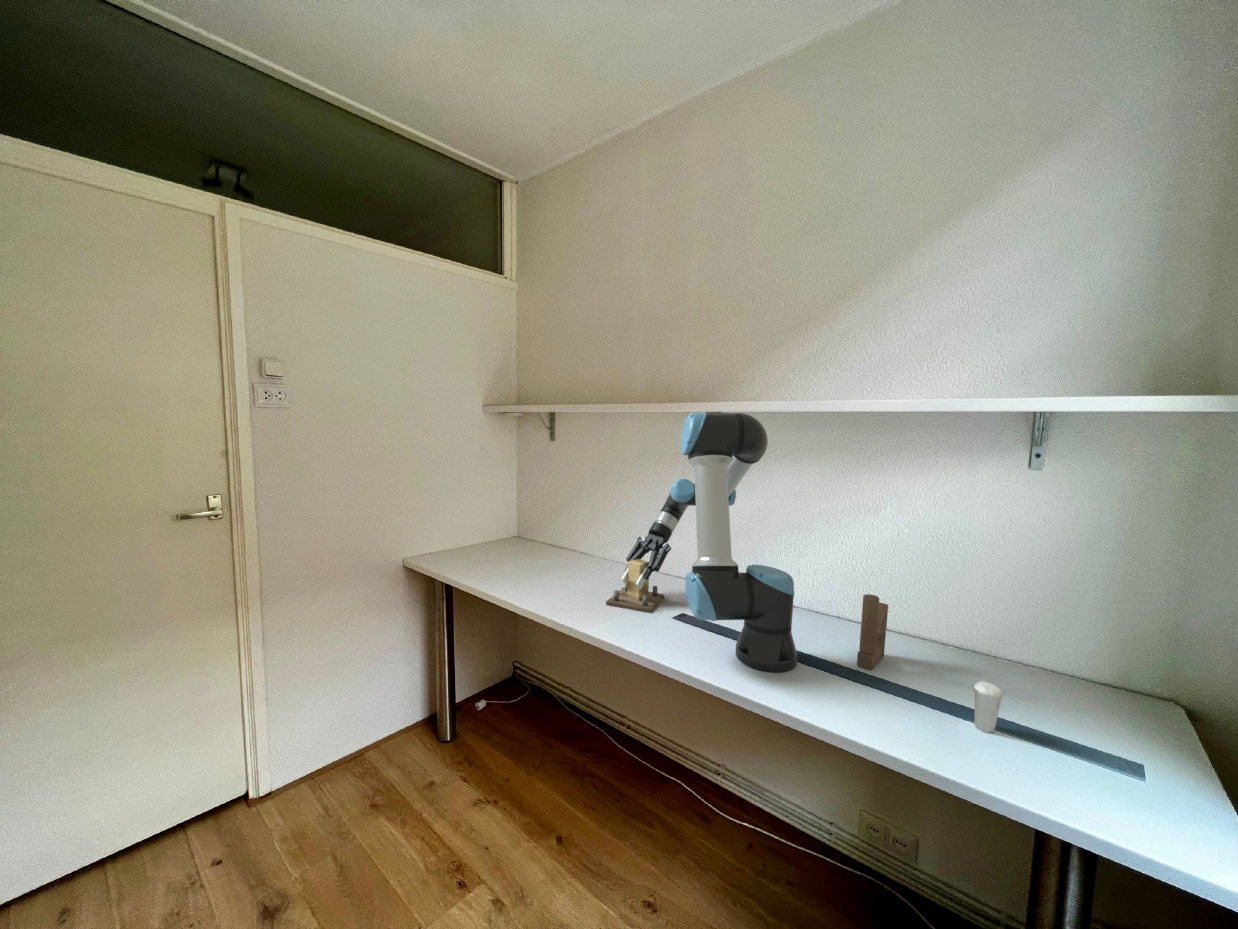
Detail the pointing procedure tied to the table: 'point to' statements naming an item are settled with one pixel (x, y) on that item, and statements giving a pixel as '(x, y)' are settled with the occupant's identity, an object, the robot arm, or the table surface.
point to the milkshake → (987, 705)
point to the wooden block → (872, 632)
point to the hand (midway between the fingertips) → (630, 583)
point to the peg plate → (642, 605)
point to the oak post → (636, 579)
